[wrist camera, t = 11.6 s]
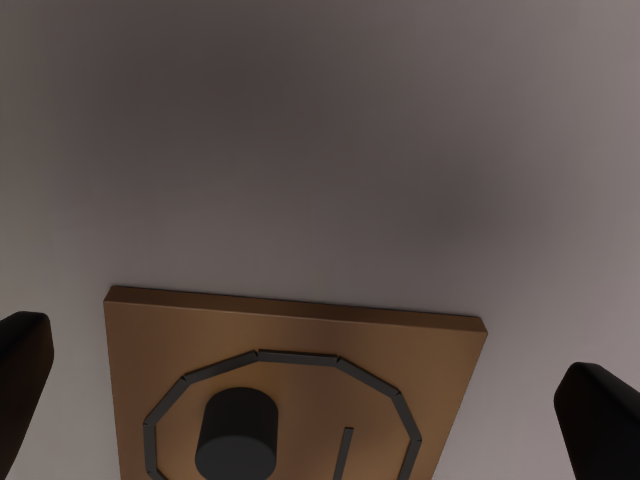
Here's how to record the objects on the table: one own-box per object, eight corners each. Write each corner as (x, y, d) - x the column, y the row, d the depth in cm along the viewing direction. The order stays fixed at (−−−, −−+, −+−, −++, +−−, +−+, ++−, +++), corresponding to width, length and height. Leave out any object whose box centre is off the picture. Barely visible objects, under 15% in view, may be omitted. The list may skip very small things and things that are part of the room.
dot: (204, 435, 22) (193, 487, 20) (205, 383, 21) (194, 434, 18) (275, 439, 23) (272, 490, 20) (281, 389, 21) (280, 438, 19)
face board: (132, 524, 27) (125, 547, 26) (111, 285, 19) (100, 303, 18) (399, 535, 29) (403, 557, 28) (481, 317, 21) (490, 336, 20)
